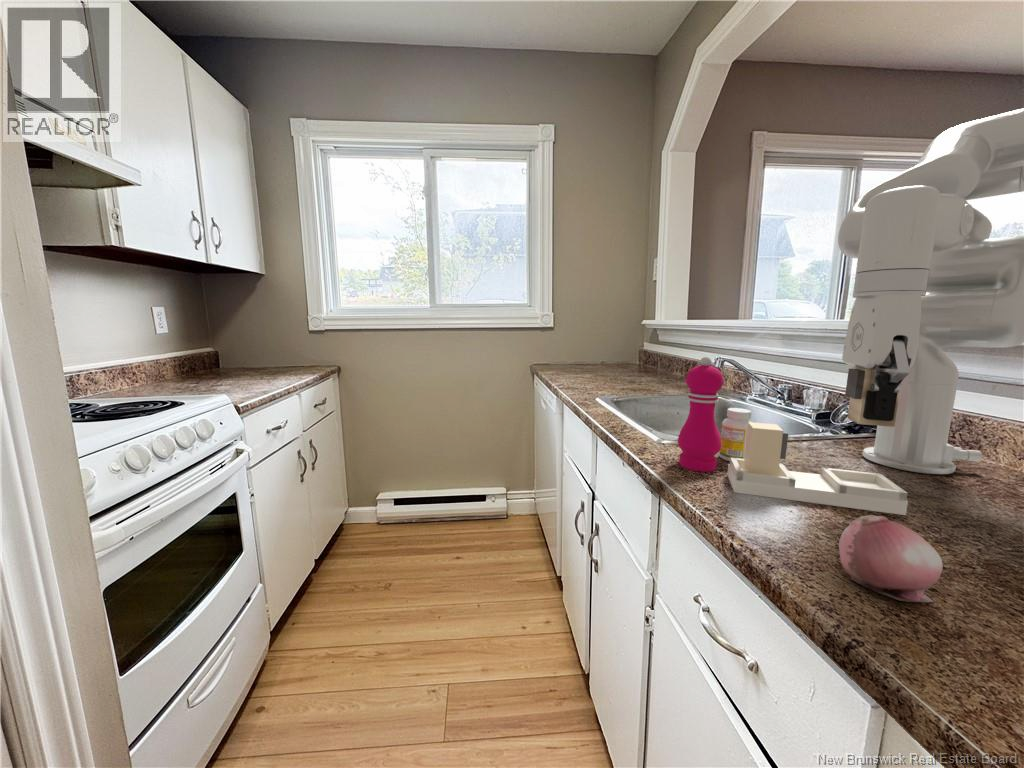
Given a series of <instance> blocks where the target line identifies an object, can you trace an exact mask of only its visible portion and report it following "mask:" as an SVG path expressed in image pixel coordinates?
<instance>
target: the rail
mask: <svg viewBox="0 0 1024 768" xmlns="http://www.w3.org/2000/svg"><path fill="white" fill-rule="evenodd" d="M788 439H789V433H788V432H787V431H786V430H785V429H784V428H781V427H780V426H779V425H778V424H776V423H764V422H763V423H762V422H753V421H750V422H748V428H747V438H746V448H745V458H744V459H740V458H730V461H729V463H728V465H727V478H728V481H729V483H730V486H731V488H732V490H733V493H736V494H744V495H750V496H751V495H752V496H759V497H764V498H765V497H766V498H772V499H773V498H774V499H781V500H790V501H796V502H797V501H798V502H805V503H809V504H819V505H825V506H834V507H841V508H848V509H849V508H850V509H856V510H863V511H869V512H870V511H871V512H878V513H884V514H885V513H887V514H895V515H900V516H901V515H902V516H906V515H907V510H908V504H909V501H908V499H907V498H908V491H905V490H904V489H903V488H901V487H900V486H899V485H897V484H896V483H895V482H893V481H892V480H890V479H889V478H887V477H886V476H885V475H883V474H882V473H875V472H867V471H857V470H850V469H849V470H848V469H839V468H831V467H824V466H823V467H821V468H820V474H819V473H811V472H802V471H793V470H788V468H787V467H786V466H785V464H783V462H780V461H781V459H782V460H786V457H787V451H788V450H787V449H788V447H787V446H788Z"/></svg>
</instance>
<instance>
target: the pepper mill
mask: <svg viewBox="0 0 1024 768" xmlns="http://www.w3.org/2000/svg"><path fill="white" fill-rule="evenodd" d="M699 362H700V365H696V366H693V367H692V368H690V369H689V370H688V372H687V374H686V378H685V385H687V387H688V389H689V390H690V391H688V392H687V395H688V396H687V400H688V401H689V411H688V412H689V413H688V415H687V416H688V417H687V419H686V421H685V423H683V426H682V428H681V429H680V431H679V434H678V438H677V444H678V445H677V446H678V447H679V448H680V449H681V451H682V452H680V453H679V461H678V463H679V465H680V467H682V468H685V469H687V470H690V471H694V472H699V473H702V472H704V473H706V472H713V471H715V470H716V469H717V467H718V466H717V465H718V459H717V457H716V455H717V454H718V453H719V451H720V450H721V447H722V444H721V433H720V431H719V429H718V426H717V423H716V420H715V407H716V404H717V403H718V402H719V398H718V397H719V396H720V395H719V393H718V392H719V391H720V390H721V389H722V387H723V386H724V376H723V373H722V372H721V370H719V369H718V368H716V367H715V366H712V365H711V364H712V359H711V357H709V356H703V357H702V358H701V359H700V360H699Z"/></svg>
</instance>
